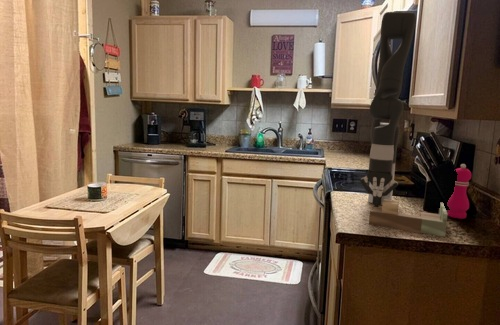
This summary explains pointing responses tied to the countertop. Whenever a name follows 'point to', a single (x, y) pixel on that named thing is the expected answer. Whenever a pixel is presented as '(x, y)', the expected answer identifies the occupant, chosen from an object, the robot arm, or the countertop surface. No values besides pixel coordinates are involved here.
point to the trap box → (412, 221)
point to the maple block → (390, 206)
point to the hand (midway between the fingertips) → (376, 206)
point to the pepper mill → (459, 194)
